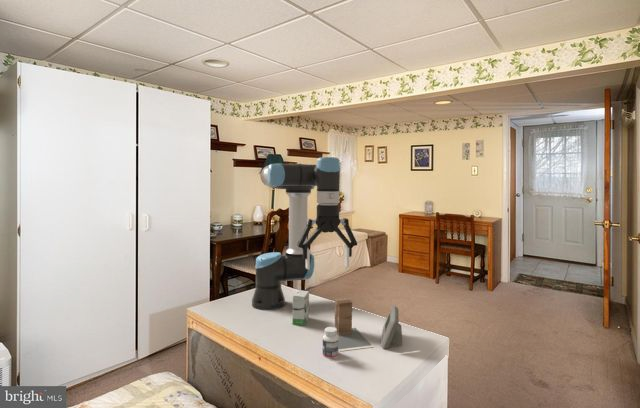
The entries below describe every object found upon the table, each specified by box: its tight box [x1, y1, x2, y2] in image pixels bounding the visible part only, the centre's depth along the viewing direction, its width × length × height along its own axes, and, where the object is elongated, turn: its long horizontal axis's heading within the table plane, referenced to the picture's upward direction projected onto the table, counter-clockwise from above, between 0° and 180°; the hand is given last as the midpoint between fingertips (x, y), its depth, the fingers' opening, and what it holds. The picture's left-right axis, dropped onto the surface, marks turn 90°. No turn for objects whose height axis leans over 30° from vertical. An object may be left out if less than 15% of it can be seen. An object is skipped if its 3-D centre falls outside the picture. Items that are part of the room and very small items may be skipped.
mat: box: [337, 327, 374, 352], centre depth 129 cm, size 17×12×1 cm
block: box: [334, 297, 353, 335], centre depth 135 cm, size 5×5×12 cm
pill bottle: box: [322, 326, 340, 359], centre depth 117 cm, size 5×5×9 cm
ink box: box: [292, 289, 310, 326], centre depth 145 cm, size 9×5×12 cm, turn 168°
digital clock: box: [380, 305, 403, 350], centre depth 128 cm, size 16×9×11 cm, turn 157°
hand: (327, 267), depth 121 cm, fingers open, 13 cm apart
